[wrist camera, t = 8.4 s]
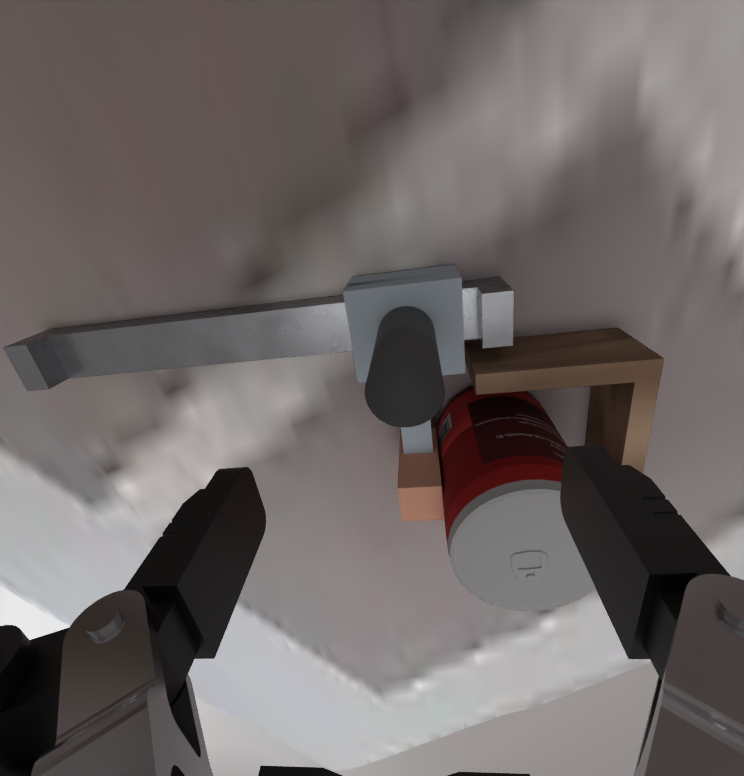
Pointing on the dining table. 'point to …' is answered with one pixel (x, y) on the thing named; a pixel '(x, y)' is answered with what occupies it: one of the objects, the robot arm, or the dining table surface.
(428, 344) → the grey block with post
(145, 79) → the dining table surface
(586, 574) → the canned food
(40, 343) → the rail
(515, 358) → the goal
